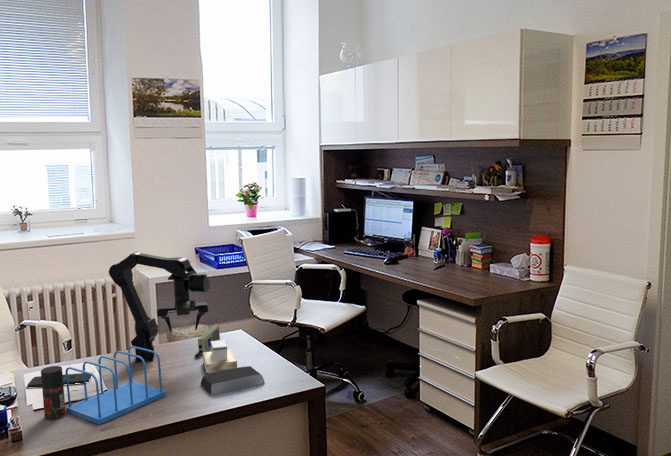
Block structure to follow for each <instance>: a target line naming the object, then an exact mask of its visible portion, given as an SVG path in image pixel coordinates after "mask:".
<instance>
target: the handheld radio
mask: <svg viewBox="0 0 671 456" xmlns="http://www.w3.org/2000/svg"><path fill="white" fill-rule="evenodd" d="M220 335H221V334H220V324H214V325H212V326H211V327H210V328H208V329H207V330H206V331H205V332H204V333H202V334H201V335H200V336H199V337H198V338H197V347H198V351H197V353H196V354H194V358H195V359H197V358H198V357H199V356H201V355H203V352H209V351H210V350H211V341H218V340H221V336H220Z"/></svg>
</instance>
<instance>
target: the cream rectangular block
mask: <svg viewBox="0 0 671 456" xmlns="http://www.w3.org/2000/svg"><path fill="white" fill-rule="evenodd" d="M202 359H203V360H202V361H203V365H204V369H205V372H206V374H211V373H215V372H218V371H222V370H227V369H233V368H238V360H237V358H236V355H235V353H234V350H233V348H232V349H230V348H229V349H227V360H218V361H213V357H212V354H211V351H207V352H203V354H202Z"/></svg>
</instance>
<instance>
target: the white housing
mask: <svg viewBox="0 0 671 456" xmlns="http://www.w3.org/2000/svg"><path fill="white" fill-rule="evenodd" d="M210 350H211V351H210V352H211V354H212V357H213V361H218V360H227V350H228V346H227V344H226V340H225V339H220V340H218V341H211V348H210Z"/></svg>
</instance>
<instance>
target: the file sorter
mask: <svg viewBox="0 0 671 456" xmlns="http://www.w3.org/2000/svg"><path fill="white" fill-rule="evenodd" d="M132 348H133V349H135V348H136V349H140V350H144V351H148V352H151V353H154V356H156V358H157V365H158V366H157V367H158V380H159V381H158V382H159V388H157V387H153V386H150V385H148V377H147V365H146V364H147V363H146V361H144V359H143V358H142V357H140V356H137V355H136V354H133V353H131V350H132ZM118 353H119V354H121V355H126V356H127V358H128V363H127V362H126V361H124V360H121V359H117V354H118ZM131 357H134V358H136V357H137V358H140V359H141V360H142V362H141V363H142V364H143V372H144V384H143V383H140V382H137V381H133V374H132V373H133V372H132V364H131V363H132V361H131ZM102 359H105V360H106V359H107V360H109V361H113V366H114V370H113V368H111V367H109V366H106V365H103V364H102V363H101V362H102V361H101V360H102ZM97 361H98V363H95V362H91V361H88V360H87V361H84V362H83V364H82V369H79V368H76V367H71V366H69V367H66V369H65V373H64V375H65V374H66V384H67V385H66V393H67V394H66V395H67V400H68V401H67V402H68V405H67V406H65V410H66V413H68V414H70V415H72V416H73V415H74V416H76V417H79V418H82V419H84V420H86V421H89V422H92V423H93V424H94V423H95V424H97V425H101V424H103V423H106V422H108V421H111V420H112V419H115V418H117V417H119V416H122V415H124V414H126V413H128V412H131V411H133V410H135V409H137V408H140V407H142V406H145V405H147V404H149V403H151V402H154V401H155V400H156V401H157V400H159V399H161V398H162V397H165V396H166V391H165V390H164V389H163V385H162V383H163V382H162V371H161V369H162V368H161V360H160V355H159V354H158V353H157V352H156V351H155V350H154V351H152V350H148V349H144V348H140V347H136V346H132V345H131V346H128V350H127V352H125V351H122V350H116V351H115V352H114V354H113V357H109V356H106V355H101V356H100V357H99V358H98V360H97ZM117 362H118V363H119V364H120V363H121V364H123V365H125V366H126V368H127V373H128V381H129V382H126V383H124V384H121V385H119V384H118V383H119V382H118V381H119V380H118V372H117ZM86 364H89V365H93V366H96V367H98V374H99V375H98V376H99V382H98V379H97V377H96V375H95V373H94V374H92V373H93V372H89V371H86V368H85V367H86ZM102 368H103V369H106V370H108V371H109V372H111V376H112V384H113V388H111V389H108V390H106V391H104V390H103V389H104V388H103V377H102V376H103V375H102ZM69 370H73V371H75V372H77V373H78V372H79V373H83V378H84V384H83V388H84V399H83V400H80V401H78V402H76V403H75V402H74V403H73V404H72V402H71V401H72V400H71V393H70V385H69V382H68V374H69V373H68V371H69ZM85 374H88V375H91V376H92V378H93V380H94V383H95V390H96V394H95V395H93V396H89V397H88V390H87V384H86V377H85ZM99 385H100V387H99ZM99 388H100V389H99Z"/></svg>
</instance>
